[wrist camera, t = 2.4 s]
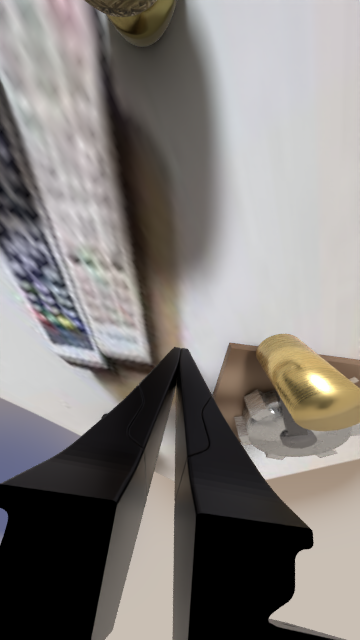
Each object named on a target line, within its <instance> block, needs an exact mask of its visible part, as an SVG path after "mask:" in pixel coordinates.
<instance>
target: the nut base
mask: <svg viewBox="0 0 360 640" xmlns="http://www.w3.org/2000/svg"><path fill="white" fill-rule="evenodd" d="M257 348H258V346H250V345H243V344H235V343H229V346H228V349H227V352H226V355H225V359H224V362H223V365H222V368H221V371H220V374H219V377H218V380H217V384H216V387H215V390H214V393H213V396H212V397H213V398H214V400H215V402H216V404H217V406H218V407H219V409H220V411H221V413H222V415H223V416H224V418H225V420H226V421H227V423H228V424H229V426H230V428H231V429H232V431H233V432H234V434H235V435H236V437H237V439H238V440H239V442H241V440H240V438H239V435H238V431H237V427H236V423H235V419H234V417H237V416H243V415H242V414H243V410H244V408H245V406H246V402H245V399H244V397H245V396H246V395H248V394H250V393H251V392H253V391H255V390H256V389H258V390H260V391H261V392H263V393H266V392H269V391H272V390H275V388H274V386H273V384H272V383H271V381H270V379H269V378H268V376H267V374H266V373H265V371H264V369H263V368H262V366H261V364H260V363H259V361H258V359H257V357H256V351H257ZM319 356H320V357H322V358H323V359H324V360H325V361H327V362H328V363H329V364H330V365H332V366H333V367H334V368H335V369H336V370H338V371H339V372H340V373H341V374H343V375H344V376H345V377H346V378H348V379H349V380H350V381H351V382H353V383H354V384H355V385H356V386H357V387H359V388H360V360H356V359H348V358H341V357H333V356H326V355H319Z"/></svg>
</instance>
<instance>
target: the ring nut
mask: <svg viewBox="0 0 360 640" xmlns="http://www.w3.org/2000/svg"><path fill="white" fill-rule="evenodd" d="M256 357H257V359H258V361H259V363H260V364H261V366H262V368H263V369H264V371H265V373H266V374H267V376H268V378H269V379H270V381H271V383H272V384H273V386H274V388H275V390H272V391H269V392H266V393H263V392H261V391H260V390H258V389H256V390H255V391H253V392H251V393H250V394H248V395H246V396H245V397H244V399H245V402H246V406H245V408H244V410H243V414H242V415H243V416H237V417H234V419H235V423H236V427H237V431H238V435H239V438H240V440H241V442H242V444H243V445H250V444H252V445H253V446H255V447H256V448H257V449H259V450H261V451H263V452H265V455H266V457H267V458H273V459H279V460H283V459H284V458H285V457H286V456H287V457H301V456H310V455H316V456H318V457H320V458H322V457H326V456H329V455H333V454H337V452H336V450H335V448H337V447H339V446H340V445H342V444H343V443H344V442H346V441H347V440H348V439H349V437H350V436H356V435H360V388H359V387H357V386H356V385H355V384H354V383H353V382H351V381H350V380H349V379H348V378H346V377H345V376H344V375H343V374H341V373H340V372H339V371H338V370H336V369H335V368H334V367H333V366H332V365H330V364H329V363H328V362H327V361H325V360H324V359H323V358H322V357H320V356H319V355H318V354H317V353H315V352H314V351H313V350H312V349H310V348H309V347H308V346H307V345H306V344H304V343H303V342H302V341H301V340H299V339H298V338H297V337H295V336H293V335H290V334H278V335H274V336H271V337H269V338H267V339H265V340H264V341H263V342H262V343H261V344H260V345H259V346H258V348H257V351H256Z"/></svg>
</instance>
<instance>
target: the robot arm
mask: <svg viewBox="0 0 360 640" xmlns="http://www.w3.org/2000/svg"><path fill="white" fill-rule="evenodd" d="M176 383H177V384H176ZM175 388H176V439H175V511H174V513H175V514H174V582H173V583H174V584H173V590H174V591H173V640H345V639H341V638H338V637H335V636H331V635H328V634H324V633H320V632H317V631H314V630H310V629H306V628H303V627H299V626H296V625H293V624H289V623H285V622H281V621H277V620H272V619H268V618H269V616H270V615H271V614H272V613H273V612H274V611H276V610H277V609H279V608H280V607H281V606H283V605H284V604H285V603H287V602H289V600H290V599H291V598H292V596H293V594H294V591H295V557H296V555H297V553H298V552H299V551H301V550H303V549H310V548H312V546H313V532H312V530H311V529H310V528H309V527H308V526H307V525H306V524H305V523H304V522H303V521H302V520H301V519H300V518H299V517H298V516H297V515H296V514H295V513H294V512H293V511H292V510H291V509H290V508H289V507H288V506H287V505H286V504H285V503H284V502H283V501H282V500H281V499H280V498H279V497H278V496H277V494H276V493H275V492H274V491H273V490H272V488H270V486H269V485H268V483H267V482H266V481H265V479H264V478H263V477H262V475H261V474H260V472H259V471H258V469H257V468H256V466H255V465H254V463H253V462H252V460H251V459H250V457H249V455H248V454H247V452H246V451H245V449H244V448H243V446H242V445H241V443H240V442H239V440H238V439H237V437H236V435H235V434H234V432H233V431H232V429H231V428H230V426H229V424H228V423H227V421H226V420H225V418H224V416H223V415H222V413H221V411H220V409H219V407H218V406H217V404H216V402H215V400H214V398H213V397H212V394H211V392H210V390H209V389H208V387H207V385H206V383H205V381H204V379H203V377H202V375H201V373H200V371H199V369H198V367H197V365H196V363H195V362H194V360H193V358H192V356H191V354H190V352H189V350H188V349H185V348H178V347H174V348H173V349H172V350H171V351H170V352H169V353H168V354H167V355H166V356H165V357H164V358H163V360H162V361H161V362H160V363H159V364H158V365H157V366H156V367H155V368H154V369H153V370H152V371H151V372H150V373H149V374H148V375H147V376H146V377H145V378H144V379H143V380H142V381H141V383H140V384H139V386H137V387H136V388H135V389H134V390H133V391H132V392H131V393H130V394H129V395H128V396H127V397H126V398H125V399H124V400H123V401H122V402H121V403H119V404H118V405H117V406H116V407H115V408H114V409H113V410H112V411H110V412H109V413H108V414H104V415H103V416H102V419H101V420H100V421H99V422H98V423H96V424H95V425H94V426H93V427H92V428H91V429H89V430H88V431H87V432H86V433H85V434H84V435H82V436H81V437H80V438H79V439H78V440H76V441H75V442H74V443H73V444H72V445H70V446H69V447H68V448H66V449H65V450H63V451H62V452H60V453H59V454H57V455H55V456H54V457H52V458H50V459H48V460H46V461H44V462H42V463H41V464H38V465H36V466H35V467H32V468H31V469H29V470H26V471H24V472H23V473H20V474H19V475H16V476H14V477H12V478H11V479H9V480H7V481H5V482H3V483H1V484H0V508H2V509H4V510H5V511H7V513H8V522H7V526H6V530H5V533H4V537H3V539H2V542H1V545H0V640H105V639H106V637H107V636H108V635H109V634H110V633H111V632H112V630H113V626H114V623H115V619H116V615H117V611H118V607H119V603H120V600H121V596H122V592H123V588H124V584H125V580H126V577H127V573H128V569H129V565H130V561H131V557H132V554H133V549H134V545H135V542H136V538H137V534H138V530H139V527H140V523H141V519H142V515H143V511H144V507H145V504H146V500H147V496H148V492H149V488H150V484H151V480H152V477H153V472H154V469H155V465H156V461H157V457H158V454H159V450H160V446H161V442H162V438H163V434H164V431H165V427H166V423H167V419H168V415H169V411H170V408H171V404H172V400H173V396H174V392H175Z"/></svg>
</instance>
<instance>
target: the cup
mask: <svg viewBox="0 0 360 640" xmlns="http://www.w3.org/2000/svg"><path fill="white" fill-rule="evenodd" d="M85 1H86V2H87V3H89V4H90V5H91V6H93V7H94V8H96V9H97V10H99V11H101V12H103V13H105V14H106V15H107V17H108V19H109V20H110V22H111V23H112V24H113V26H114V27H115V28H116V30H117V31H118V32H119V34H120V35H121V36H122V37H123V38H124V39H125V40H127V41H128V42H129V43H131V44H133V45H135V46H138V47H146V46H150V45H152V44H153V43H155V42H156V41H157V40H158V39H159V38H160V37H161V36H162V35H163V34H164V32H165V30H166V29H167V27H168V25H169V23H170V21H171V18H172V16H173V13H174V10H175V7H176V3H177V0H85Z"/></svg>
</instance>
